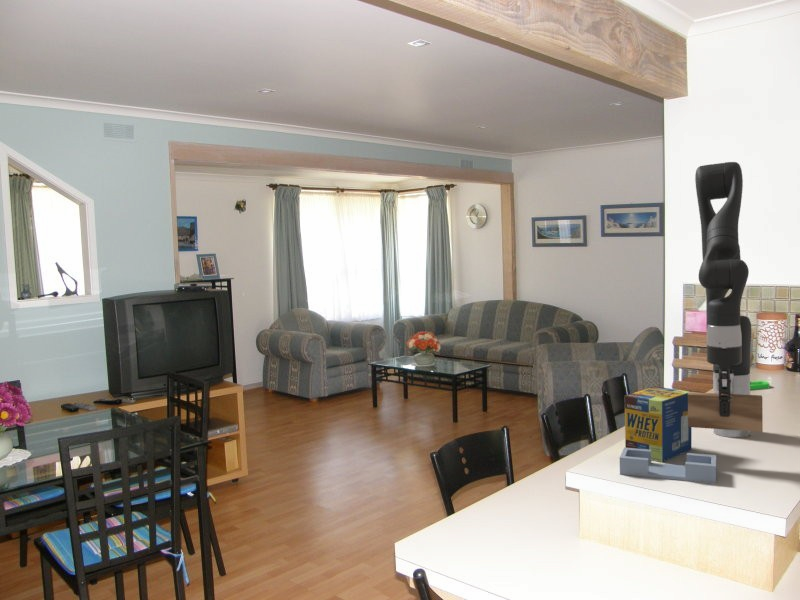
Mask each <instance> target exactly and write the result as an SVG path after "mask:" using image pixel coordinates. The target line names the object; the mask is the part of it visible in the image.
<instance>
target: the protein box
mask: <svg viewBox="0 0 800 600" xmlns="http://www.w3.org/2000/svg"><path fill="white" fill-rule="evenodd" d="M688 392H690V391H688V390H682V389H681V390H680V389H676V388H667V387H663V386H656V385H654V386H651V387H648V388H645V389H642V390H638V391H636V392H633V393H628V394H625V395H624V438H625V439H624V440H625V441H624V442H625V447H624V448H636V449H647V450H651V461H656V462H660V463H664V462H665V461H668V460H670V459H674V458H675V457H677V456H680V455H682V454H684V453H687V452H688V451H691V450H692V449H693V448H692V427H688Z"/></svg>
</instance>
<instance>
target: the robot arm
mask: <svg viewBox="0 0 800 600" xmlns="http://www.w3.org/2000/svg"><path fill="white" fill-rule="evenodd" d="M694 178H695V179H694V181H695V189H696V190H695V191H696V192H695V193H696V198H697V204H698V213H699V219H700V228H701V229H700V230H701V232H700V233H701V253H702V255H701V256H702V261H701V265H700V268H699V270H698V281H699V284H700V285H701V286H702V287H703V288H704V289H705V294H706V295H705V297H706V306H705V307H706V309H705V310H706V362H707V363H709V364H710V365H712V377H713V379H712V383H713V384H712V387H713V391H712V393H719V396H718V399H719V409H720V416H721V417H729V416H730V400H731V397H730V394H742V395H751V390H750V382H751V346H752V345H751V344H752V322H751V319H750V318H749V317H748V316H747V315H741V304H742V299H743V294H744V291H745V288H746V285H747V282H748V278H749V275H750V273H749V271H750V270H749V267H748V264H747V263H746V262H745V261H744V260H743V259H741V246H740V244H739V219H740V214H741V207H742V199H743V190H744V189H743V188H744V185H743V181H744V179H743V172H742V166H741V164H740V163H738V162H737V161H728V162H727V161H726V162H718V163H712V164H704V165H700V166H698V167H697V168H696V170H695V177H694ZM721 199H726V200H725V202H724V203H723V205H722V207H721V208H720V209H718V211H717V212H716V211H715V210H714V207H713V205H712V200H713V201H714V200H721ZM730 290H731V292H730V293H729V295H727V294H728V292H729V291H730ZM726 295H727V296H726ZM721 394H728V395H721ZM713 433H714V434H715V435H718V436H721V437H726V438H745V437H746V438H747V437H750V436H751V431H741V430H725V429H713Z"/></svg>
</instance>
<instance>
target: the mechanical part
mask: <svg viewBox="0 0 800 600" xmlns="http://www.w3.org/2000/svg"><path fill="white" fill-rule="evenodd" d="M768 387H769V388H770V382H768V381H765V380H764V381H763V380H753V381H750V389H756V390H761V389H760V388H766V389H769V388H768Z"/></svg>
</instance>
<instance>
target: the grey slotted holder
mask: <svg viewBox="0 0 800 600" xmlns="http://www.w3.org/2000/svg"><path fill="white" fill-rule="evenodd" d="M684 463H685V464H684V465H682V464H681V465H680V464H671V463H670V464H669V463H661V462H660V463H658V462H652V460H651V450H647V449H636V448H625V447H623V449H622V451H621V454H620V455H619V475H624V476H625V475H627V476H634V477H644V478H646V477H647V478H654V479H664V480H676V481H684V482H685V481H686V482H695V483H704V484H705V483H707V484H717V455H715V454H706V453H705V454H704V453H692V452H686V461H685V462H684Z"/></svg>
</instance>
